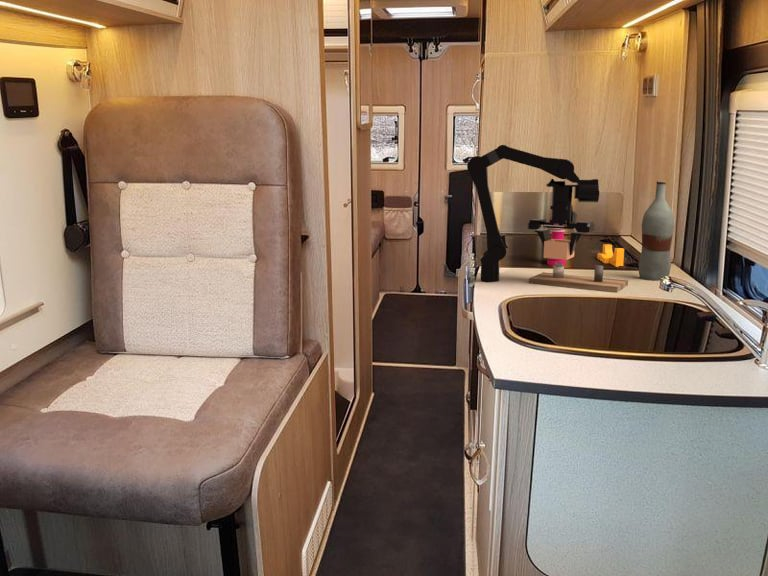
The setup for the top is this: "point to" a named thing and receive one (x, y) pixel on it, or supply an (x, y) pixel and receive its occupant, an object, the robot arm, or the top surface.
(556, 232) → the pepper mill
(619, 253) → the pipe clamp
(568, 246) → the collar
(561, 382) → the top surface
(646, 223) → the bottle
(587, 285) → the collar board
